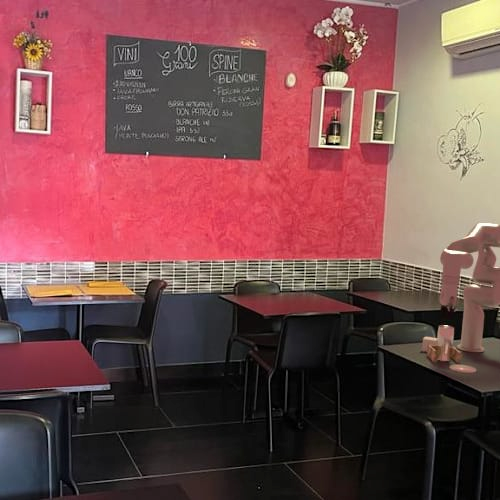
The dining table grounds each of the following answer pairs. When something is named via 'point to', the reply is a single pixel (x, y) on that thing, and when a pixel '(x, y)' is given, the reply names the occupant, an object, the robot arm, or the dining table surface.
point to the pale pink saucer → (462, 368)
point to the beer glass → (445, 342)
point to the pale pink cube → (428, 343)
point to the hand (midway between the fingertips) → (446, 318)
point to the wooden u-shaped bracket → (434, 351)
